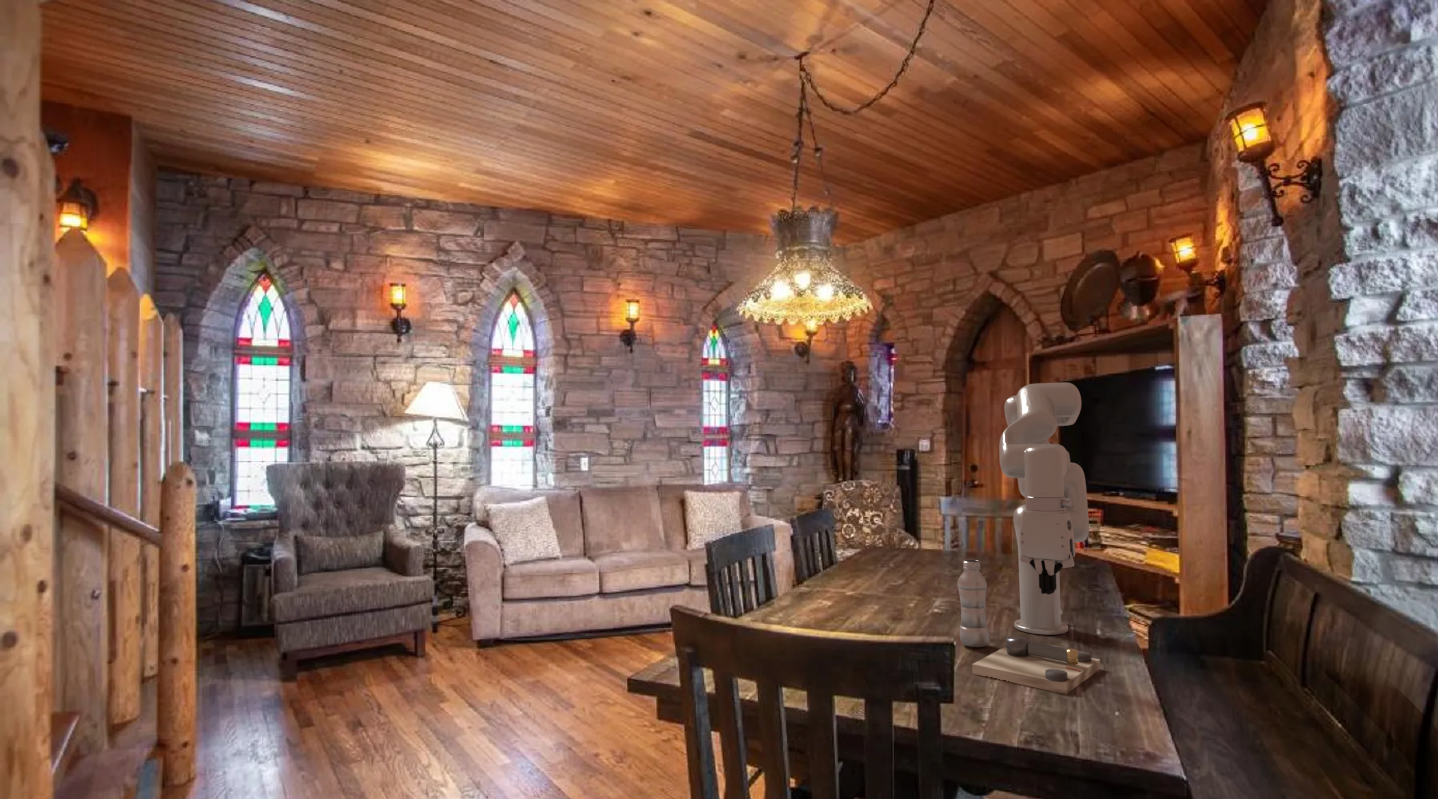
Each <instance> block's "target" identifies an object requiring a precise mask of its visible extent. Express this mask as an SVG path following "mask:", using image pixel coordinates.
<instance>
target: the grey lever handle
mask: <svg viewBox="0 0 1438 799" xmlns="http://www.w3.org/2000/svg"><path fill="white" fill-rule="evenodd" d="M1051 645H1052V644H1045V643H1040V642H1034V641H1031V638H1029V637H1028V636H1024V635H1023V636H1022V635H1008V636H1006V637H1005V647H1006V652H1007V653H1008V654H1011V655H1015V656H1028V655H1034V656H1038V657H1043V658H1048V659H1053V660H1058V661H1063V662H1067V663H1069V664H1078V651H1079V650H1078V649H1076V648H1066V647H1062V646H1058V647H1057V645H1052V646H1051Z"/></svg>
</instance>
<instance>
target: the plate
mask: <svg viewBox="0 0 1438 799" xmlns="http://www.w3.org/2000/svg"><path fill="white" fill-rule="evenodd" d="M1050 645H1051V646H1053V644H1050ZM1056 646H1057V645H1056ZM1057 647H1059V645H1058V646H1057ZM971 666H972V671H971V672H972V675H978V676H982V677H985V676H988V677H987V678H990V677H993V678H992V679H994V678H997V679H996V680H999V679H1000V681H1003V680H1006V681H1005V682H1008V681H1009V682H1008V683H1013V684H1018V685H1022V686H1026V687H1032V688H1036V689H1041V690H1045V691H1049V692H1054V693H1059V694H1063V695H1067V694H1068V693H1070V692H1072V691H1073V690H1074V689H1075V688H1076V687H1078V686H1079V685H1081V684H1082V683H1083V682H1085V681H1086V680H1088V679H1089V678H1090V677H1092V676H1093V675H1094V674H1096V673H1097V672H1099V670H1101V658H1100V659H1099V658H1093V657H1092V654H1091V653H1090V652H1087V651H1081V650H1078V664H1069V663H1067V662H1063V661H1058V660H1053V659H1048V658H1043V657H1038V656H1034V655H1028V656H1015V655H1011V654H1008V653H1007V652H1006V646H1004V647H1002V648H1000V649H998V650H996V651H995V652H992V653H990V654H989V655H987V656H985V657H983V658H981V659H980V660H977V661H976V662H973V663H972V664H971Z"/></svg>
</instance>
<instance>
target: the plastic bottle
mask: <svg viewBox="0 0 1438 799" xmlns="http://www.w3.org/2000/svg"><path fill="white" fill-rule="evenodd" d="M962 562H963V566H962V569H963V571H962V573H961V574H960V576H959V578H958V579H957V589H958V590H957V591H958V595H959V600H960V610H961V611H960V615H961V616H960V627H959V638H960V639H959V640H960V642H961V644H962V645H963V646H967V647H970V648H971V647H972V648H982V647H986V646H987V645H988V644H989V641H990V632H989V628H988V624H987V616H986V597H987V587H988V586H987V581H986V579H985V577H984V576H983V574H982V573H981V572H980V570H981V561H980V560H977V559H963V561H962Z"/></svg>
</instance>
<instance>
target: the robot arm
mask: <svg viewBox="0 0 1438 799" xmlns="http://www.w3.org/2000/svg"><path fill="white" fill-rule="evenodd" d="M1003 409H1004V417H1005V420H1006V421H1005V422H1006V424H1007V427H1006V428H1005V429H1004V431H1003V432H1002V434H1001V436H1000V438H999V444H998V445H999V447H998V450H999V455H998V456H999V465H1000V466H999V467H1000V469H1001V472H1002V473H1003V474H1004V475H1005V476H1006V477H1007V478H1014V479H1017V485H1018V490H1019V493H1020V494H1021V495H1022V497H1024V498H1025V504H1021V505H1019V506H1018V507H1017V508H1016V509H1015V510H1014V511H1013V512H1014V513H1013V526H1014V532H1015V535H1016V542H1017V543H1016V545H1017V554H1018V579H1019V582H1018V583H1019V610H1020V613H1019V614H1020V615H1019V616H1020V619H1016V620H1014V624H1013V625H1014V628H1015V629H1017V630H1019V631H1022V632H1025V633H1029V634H1035V635H1047V636H1051V635H1052V636H1053V635H1062V634H1066V633H1067V632H1068V631H1069V626H1068V624H1066V623H1065V622H1062V614H1063V613H1064V611H1063V609H1062V608H1061V587H1060V586H1061V584H1060V582H1061V581H1060V571H1061V570H1062V569H1066V568H1072V567H1074V566H1075V561H1074V558H1075V556H1076V544H1075V543H1082V542H1084V541H1086V540H1087V539H1088V537H1089V534H1090V533H1089V532H1090V521H1089V520H1090V519H1089V510H1088V509H1089V506H1088V497H1087V496H1088V495H1087V485H1086V476H1085V472H1084V470H1083V468H1082V467H1081V465H1079V464H1078V463H1075V462H1071V458H1070V456H1071V455H1070V453H1069V451H1067V449H1066V448H1065V447H1064V446H1063V445H1061V444H1058V443H1051V442H1050V441H1049V440H1048V439H1050V438H1051V437H1053V435H1054V434H1055V433H1056V432H1057V428H1058V427H1064V426H1070V425H1071V426H1072V425H1074V424H1075V423H1076V421H1077V419H1078V417H1079V415H1080V412H1081V410H1082V397H1081V394H1080V391H1079V389H1078V388H1077V386H1076V385H1074V384H1073V383H1071V382H1045V383H1043V382H1042V383H1041V382H1040V383H1039V382H1038V383H1030V384H1027V385H1025V386H1023V387H1021V388H1020V389H1019V390H1018V392H1017V394H1016V395H1013V396H1010V397H1008V398H1007V399H1006V400H1005V403H1004V408H1003Z"/></svg>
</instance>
